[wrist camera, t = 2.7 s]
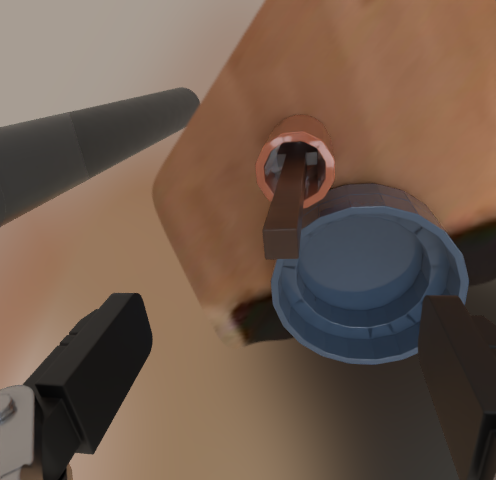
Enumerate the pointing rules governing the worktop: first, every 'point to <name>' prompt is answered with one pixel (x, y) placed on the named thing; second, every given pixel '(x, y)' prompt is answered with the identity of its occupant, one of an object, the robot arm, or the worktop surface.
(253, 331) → the worktop surface
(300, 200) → the stirring stick
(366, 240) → the bowl
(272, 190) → the utensil holder
